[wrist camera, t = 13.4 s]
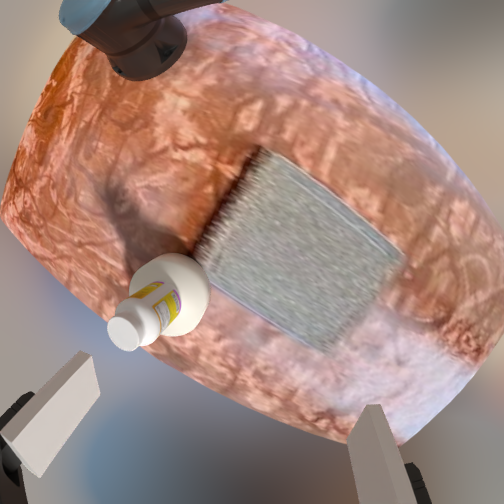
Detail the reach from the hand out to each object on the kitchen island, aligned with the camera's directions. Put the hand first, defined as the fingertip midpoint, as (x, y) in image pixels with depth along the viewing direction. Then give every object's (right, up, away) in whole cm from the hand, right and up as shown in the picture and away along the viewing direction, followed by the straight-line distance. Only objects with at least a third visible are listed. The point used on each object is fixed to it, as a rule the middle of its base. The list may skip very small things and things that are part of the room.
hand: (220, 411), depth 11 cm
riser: (-12, +1, +37) cm, 39 cm away
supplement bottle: (-12, 0, +31) cm, 33 cm away
